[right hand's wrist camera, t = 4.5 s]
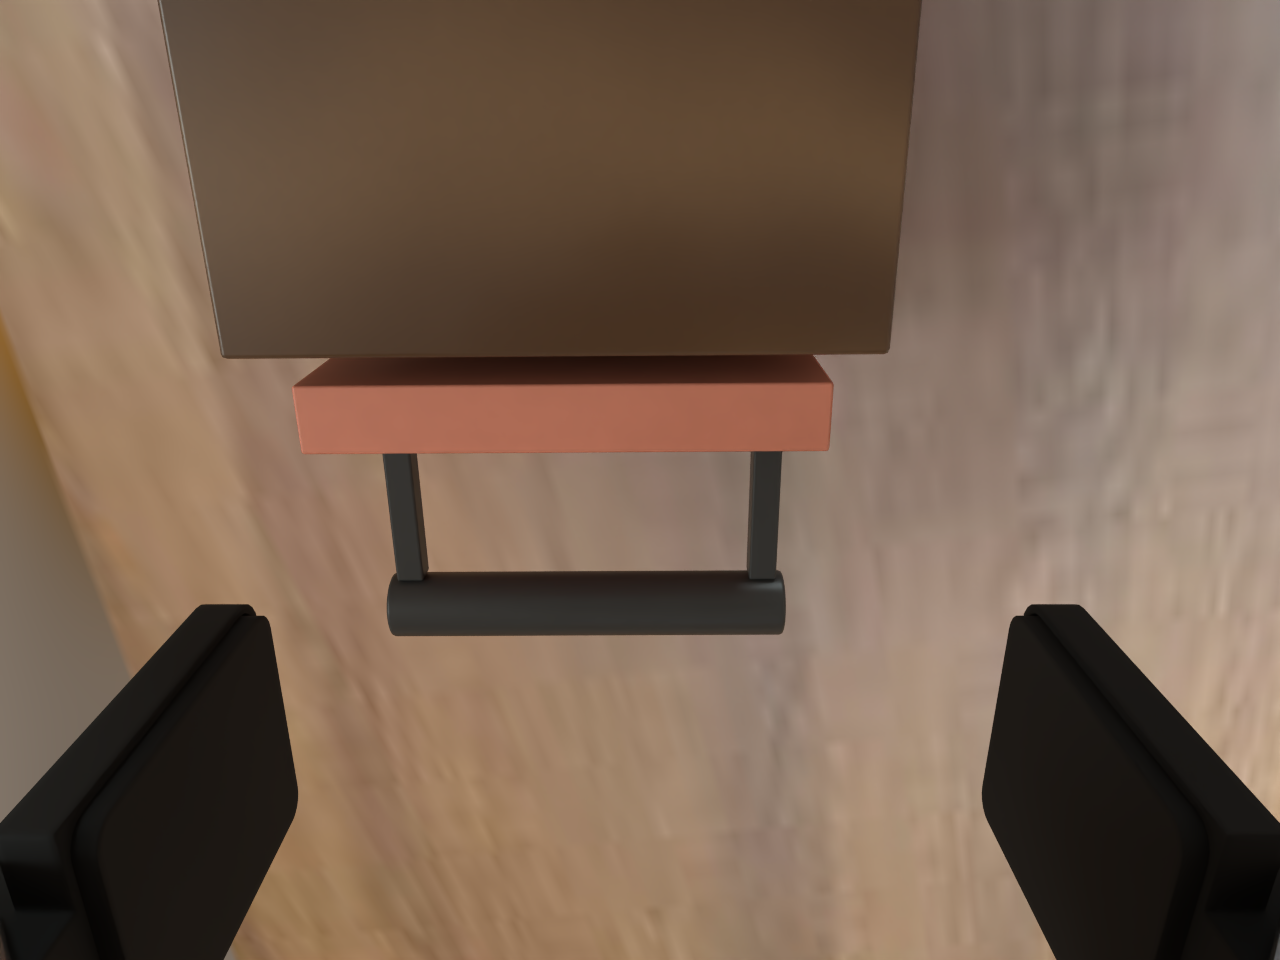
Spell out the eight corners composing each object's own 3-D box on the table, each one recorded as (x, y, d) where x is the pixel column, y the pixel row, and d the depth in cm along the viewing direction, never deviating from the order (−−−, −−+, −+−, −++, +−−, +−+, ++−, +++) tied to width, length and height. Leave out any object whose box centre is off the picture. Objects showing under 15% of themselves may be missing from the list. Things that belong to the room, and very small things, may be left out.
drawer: (753, 528, 26) (809, 739, 17) (447, 530, 27) (344, 740, 18) (801, -656, 17) (967, -1491, 8) (336, -648, 18) (6, -1467, 8)
